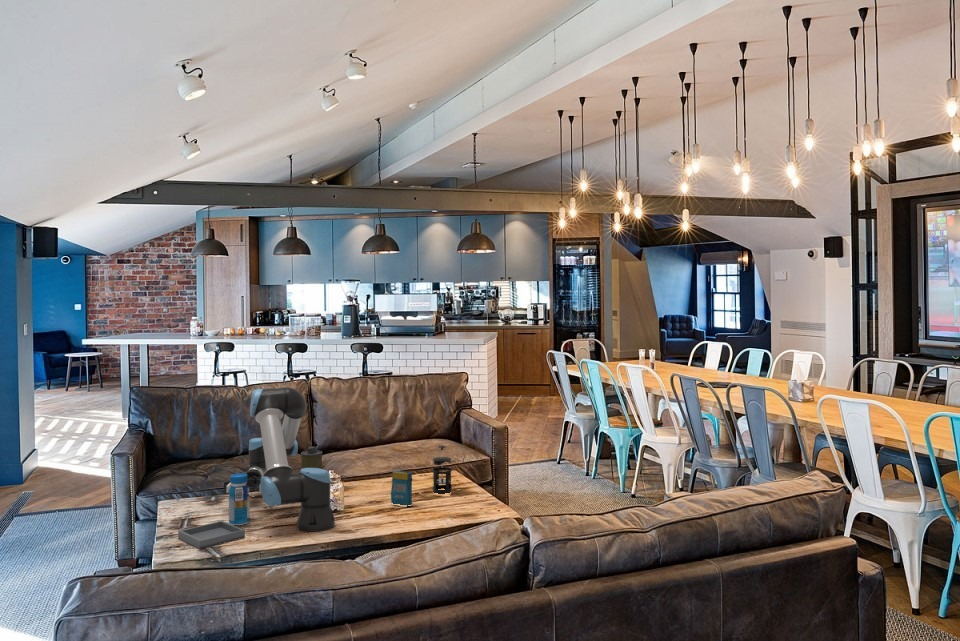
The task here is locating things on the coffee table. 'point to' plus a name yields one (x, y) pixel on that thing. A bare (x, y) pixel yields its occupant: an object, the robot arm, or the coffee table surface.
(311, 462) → the canister
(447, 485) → the french press
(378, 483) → the coffee table surface
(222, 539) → the tray
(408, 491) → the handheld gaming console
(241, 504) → the beverage bottle
